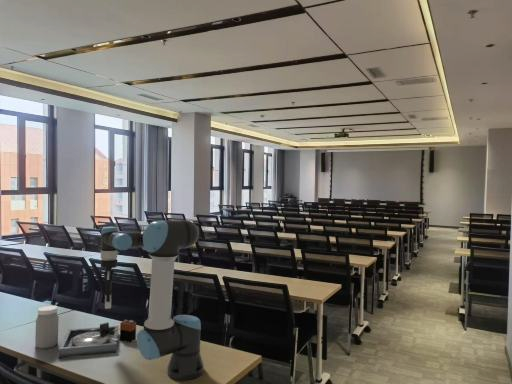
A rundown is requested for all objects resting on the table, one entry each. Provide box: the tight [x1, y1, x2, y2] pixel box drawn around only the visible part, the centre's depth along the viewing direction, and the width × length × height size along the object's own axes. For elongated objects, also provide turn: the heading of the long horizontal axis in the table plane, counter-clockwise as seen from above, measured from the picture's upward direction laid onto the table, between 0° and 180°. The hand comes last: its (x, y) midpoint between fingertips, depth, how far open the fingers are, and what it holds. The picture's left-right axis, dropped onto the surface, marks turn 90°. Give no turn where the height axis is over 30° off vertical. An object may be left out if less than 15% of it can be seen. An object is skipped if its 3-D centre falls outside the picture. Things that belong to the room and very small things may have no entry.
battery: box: [119, 319, 137, 343], centre depth 190 cm, size 4×7×10 cm, turn 69°
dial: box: [72, 322, 110, 347], centre depth 183 cm, size 17×17×8 cm
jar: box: [34, 305, 60, 350], centre depth 181 cm, size 10×10×18 cm
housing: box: [58, 325, 120, 359], centre depth 184 cm, size 24×25×4 cm
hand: (107, 307), depth 181 cm, fingers closed
